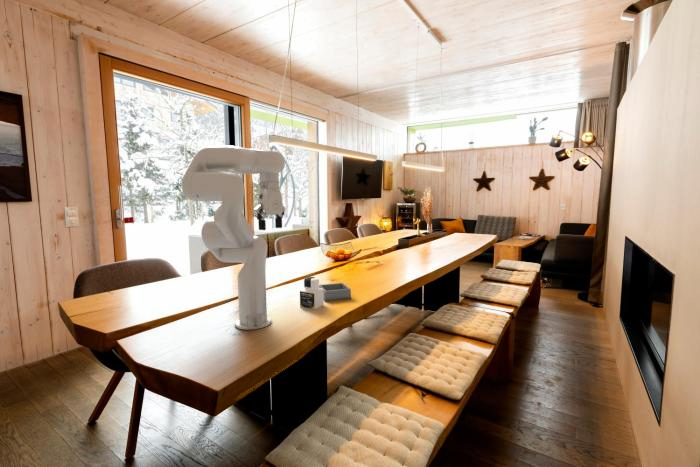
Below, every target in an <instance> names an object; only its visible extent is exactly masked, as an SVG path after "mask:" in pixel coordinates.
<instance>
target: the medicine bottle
mask: <svg viewBox="0 0 700 467" xmlns="http://www.w3.org/2000/svg"><path fill="white" fill-rule="evenodd" d="M319 285H320V279H319V277H317V276H308V277H305V278H304V279H303V288H304V289H300V290H299V306H300V308H301V309H307V310H313V311H315V310H317V309H319V308H321V307H323V306H324V305H325V301H324V293H323V288H319Z"/></svg>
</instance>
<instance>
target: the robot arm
mask: <svg viewBox="0 0 700 467" xmlns="http://www.w3.org/2000/svg"><path fill="white" fill-rule="evenodd" d="M285 161H286V160H285V157H284V156H283V154H282V153H281V152H279V151H273V150H266V149H265V150H263V149H256V148H247V147H242V146H235V145H208V146H206V145H205V146H204V147H201V148H200V149H199V150H198V151H197V152H196V154H195V155H194V157H193V159H192V160H191V162H190V164H189V165H188V168H187V169H186V171H185V173H184V175H183V176H182V177H183V178H182V181H181V189H182V190H181V191H182V193H183V194H184V196H185V198H187V199H188V200H190V201H192V202H221V204H220V206H219V207H218V208H217V209H216V210H215V213H214V215H213V218H210V219H209V220H207V221H205V222H204V223H203V225H202V226H201V227H202V228H201V233H200V234H201V240H202V242H203V245H204V246H205V247H206V248H207V249H208V250H209V252H210V253H212V255H213V256H214V257H215V258H216V259H217V260H218V261H220V262H221V263H232V264H233V263H236V264H237V263H240V264H243V266H242V268H241V269H240V270H239V271H238V274H237V293H238V294H237V296H238V301H237V302H238V318H237V319H236V320H235V321H234V326H235V327H236V328H237V329H240V330H247V331H248V330H249V331H250V330H252V331H253V330H259V329H262V328H265V327H268V326H270V325H271V324H272V322H273V320H272V317H271V316H269V315H268V311H267V309H268V307H267V305H268V304H267V283H266V282H267V280H266V279H267V278H266V265H267V264H266V263H267V254H268V243H267V240H266V239H265V238H264V237H262V236H260V235H259V236H258V235H255V234H254V231H253V228H252V226H251V225H250V223H249V222H248V220H247V218H246V217H245V215H244V213H243V206H244V197H245V185H244V181H243V178H242V176H240V175H256V174H258V175H259V177H258V178H259V183H258V186H259V190H258V197H257V198H258V200H257V206H256V207H255V208H253V213H254V216H255V217H256V219H257V220H258V230H259V231H267V230H266V229H267V227H266V226H267V224H266V220H265V218H266V216H275V219H274V223H275V226H274V227H275V228H276V229H278V228H279V229H282V228H283V218H284V215H285V211H286V207H285V206H283V196H282V192H281V190H280V187H279V186H280V185H279V182H280V181H279V177H280V174H279V173H281V172H283V171H284V169H285V167H286V166H285Z"/></svg>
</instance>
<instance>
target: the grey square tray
mask: <svg viewBox="0 0 700 467" xmlns="http://www.w3.org/2000/svg"><path fill="white" fill-rule="evenodd" d="M319 288H323V293H324V303H327V302H335V301H345V300H346V301H347V300H351V299H352V295H351V293H352V289H351V288H350V287H349V286H348V285H346V284H345V283H344V282H336V283H328V284H327V283H325V284H319Z"/></svg>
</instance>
